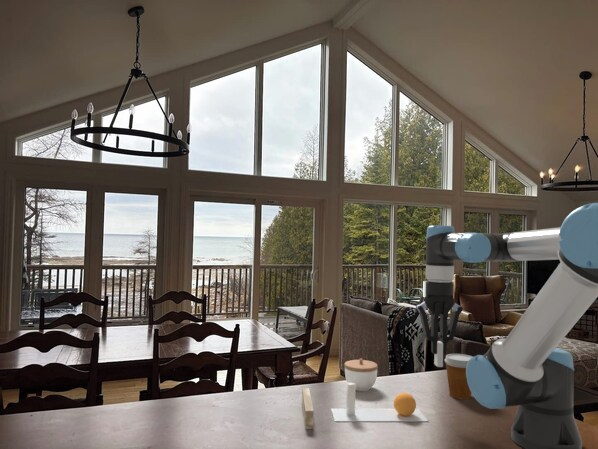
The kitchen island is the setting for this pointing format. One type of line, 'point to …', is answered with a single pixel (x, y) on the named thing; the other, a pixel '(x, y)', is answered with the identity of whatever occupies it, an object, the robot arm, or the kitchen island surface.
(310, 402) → the backstop
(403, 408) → the ball
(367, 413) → the plate
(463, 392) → the disposable coffee cup
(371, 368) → the lidded jar
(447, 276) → the robot arm
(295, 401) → the kitchen island surface
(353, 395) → the pin
